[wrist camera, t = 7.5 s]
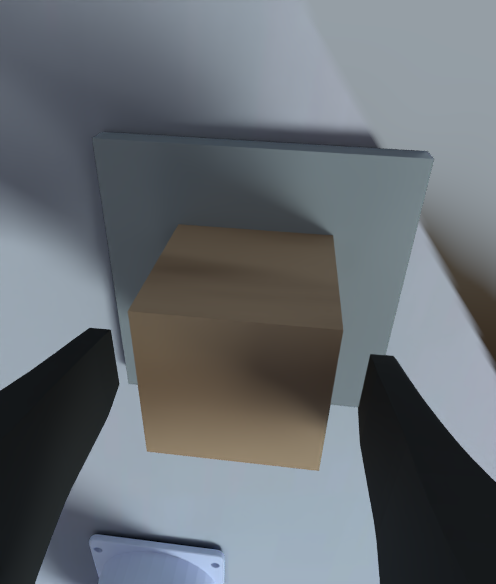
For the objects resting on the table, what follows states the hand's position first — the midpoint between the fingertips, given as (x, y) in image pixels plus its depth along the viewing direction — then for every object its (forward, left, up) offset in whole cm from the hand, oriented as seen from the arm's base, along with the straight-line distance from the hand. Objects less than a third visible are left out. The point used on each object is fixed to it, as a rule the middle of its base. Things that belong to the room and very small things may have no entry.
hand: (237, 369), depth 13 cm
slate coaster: (0, 0, -5) cm, 5 cm away
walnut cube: (0, 0, -4) cm, 4 cm away
